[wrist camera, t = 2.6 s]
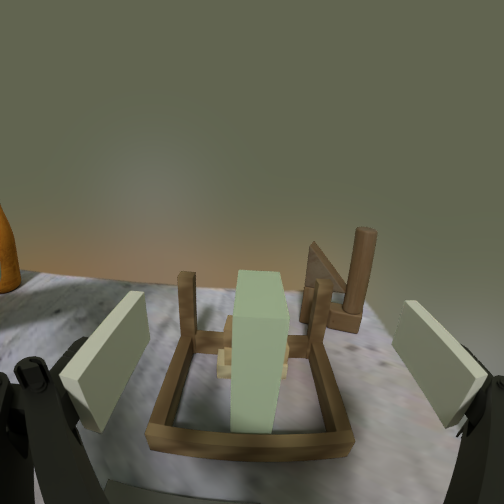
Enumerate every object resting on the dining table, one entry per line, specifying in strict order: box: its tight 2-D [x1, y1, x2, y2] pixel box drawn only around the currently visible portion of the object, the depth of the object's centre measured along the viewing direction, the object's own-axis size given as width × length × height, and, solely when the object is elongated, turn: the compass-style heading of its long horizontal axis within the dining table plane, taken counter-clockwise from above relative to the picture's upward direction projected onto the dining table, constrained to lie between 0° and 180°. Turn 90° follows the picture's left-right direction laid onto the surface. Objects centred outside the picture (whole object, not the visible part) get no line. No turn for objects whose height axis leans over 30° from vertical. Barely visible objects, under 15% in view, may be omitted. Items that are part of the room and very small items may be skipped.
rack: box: [145, 271, 355, 462], centre depth 30 cm, size 20×20×12 cm
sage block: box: [230, 270, 290, 435], centre depth 26 cm, size 4×9×16 cm, turn 0°
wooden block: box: [300, 227, 377, 334], centre depth 46 cm, size 4×11×18 cm, turn 67°
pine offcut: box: [217, 349, 288, 379], centre depth 36 cm, size 9×4×3 cm, turn 92°
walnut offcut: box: [224, 315, 233, 348], centre depth 35 cm, size 7×4×3 cm, turn 86°
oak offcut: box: [224, 343, 289, 366], centre depth 35 cm, size 8×4×3 cm, turn 95°
